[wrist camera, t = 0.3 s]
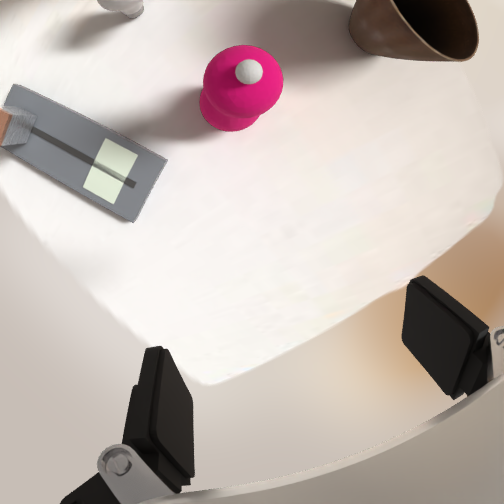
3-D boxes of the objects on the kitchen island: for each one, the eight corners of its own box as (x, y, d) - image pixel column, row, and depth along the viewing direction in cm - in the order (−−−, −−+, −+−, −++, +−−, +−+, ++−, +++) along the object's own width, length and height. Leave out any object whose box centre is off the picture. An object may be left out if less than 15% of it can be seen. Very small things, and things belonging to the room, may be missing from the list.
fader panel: (20, 85, 27) (12, 83, 25) (168, 160, 35) (165, 161, 33) (-3, 139, 29) (-11, 140, 27) (136, 219, 38) (133, 223, 36)
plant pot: (346, -21, 28) (399, -65, 13) (418, 34, 32) (485, 15, 17) (308, 38, 32) (362, -7, 17) (390, 95, 36) (466, 87, 21)
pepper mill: (216, 142, 36) (223, 142, 17) (190, 94, 33) (173, 47, 14) (266, 118, 35) (324, 98, 17) (242, 71, 32) (276, 8, 14)
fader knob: (19, 107, 26) (-9, 105, 20) (37, 116, 28) (9, 114, 21) (9, 133, 27) (-20, 135, 21) (26, 143, 29) (-3, 146, 22)
